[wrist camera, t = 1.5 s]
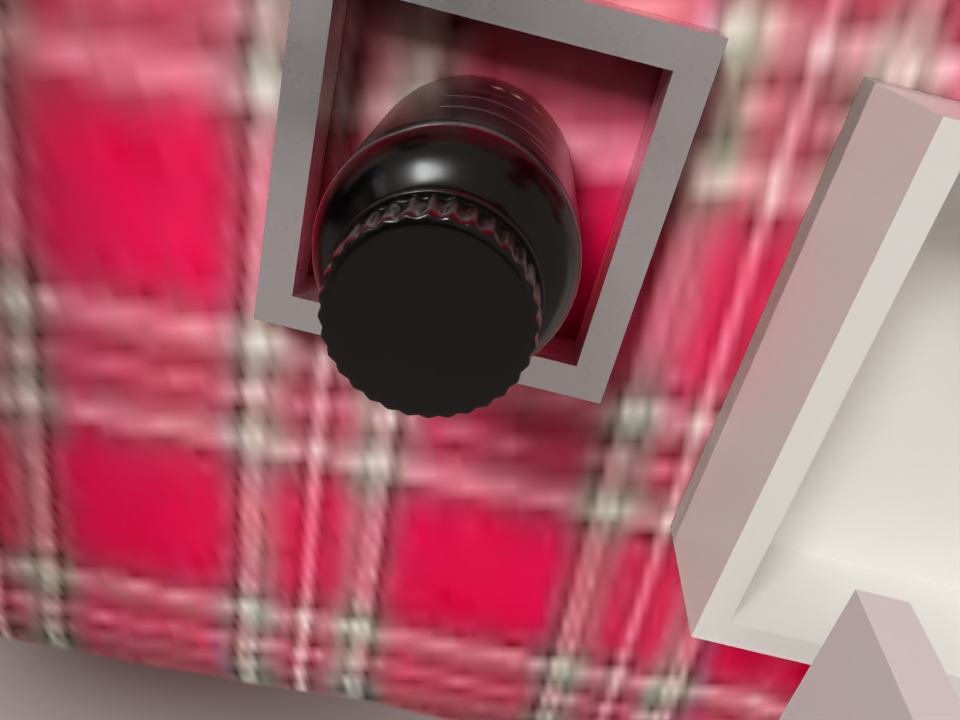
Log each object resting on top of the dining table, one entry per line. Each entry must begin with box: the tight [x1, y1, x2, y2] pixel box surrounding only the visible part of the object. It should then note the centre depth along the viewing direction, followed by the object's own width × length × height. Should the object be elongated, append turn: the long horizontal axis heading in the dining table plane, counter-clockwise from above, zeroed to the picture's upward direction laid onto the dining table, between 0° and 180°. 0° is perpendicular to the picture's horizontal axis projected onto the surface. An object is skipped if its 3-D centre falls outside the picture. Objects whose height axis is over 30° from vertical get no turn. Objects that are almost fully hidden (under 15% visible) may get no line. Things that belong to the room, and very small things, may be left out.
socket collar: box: [254, 0, 728, 404], centre depth 27 cm, size 12×12×2 cm
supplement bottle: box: [312, 75, 582, 418], centre depth 23 cm, size 7×7×12 cm
